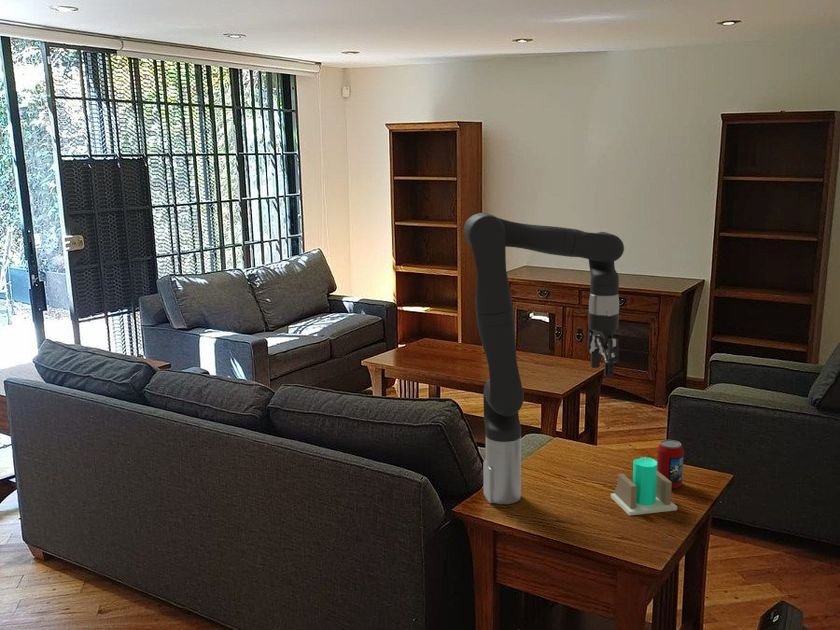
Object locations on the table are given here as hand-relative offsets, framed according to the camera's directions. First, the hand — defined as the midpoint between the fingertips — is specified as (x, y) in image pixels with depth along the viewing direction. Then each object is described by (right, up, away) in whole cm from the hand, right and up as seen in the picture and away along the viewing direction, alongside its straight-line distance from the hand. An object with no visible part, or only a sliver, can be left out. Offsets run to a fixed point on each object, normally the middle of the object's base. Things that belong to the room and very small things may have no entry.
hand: (601, 372), depth 207 cm
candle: (+10, -33, -1) cm, 35 cm away
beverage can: (+20, -32, +10) cm, 39 cm away
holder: (+10, -34, -1) cm, 35 cm away
